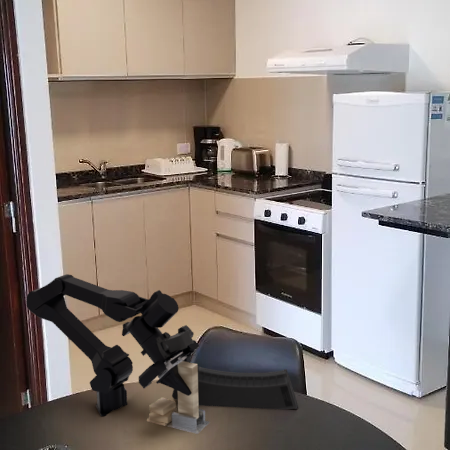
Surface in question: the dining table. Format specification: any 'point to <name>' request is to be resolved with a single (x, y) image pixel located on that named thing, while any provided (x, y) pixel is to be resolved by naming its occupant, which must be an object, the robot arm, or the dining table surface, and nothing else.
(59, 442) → the dining table surface
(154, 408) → the offcut stack
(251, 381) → the black curved panel
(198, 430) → the rack
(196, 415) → the beige rectangular block
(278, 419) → the dining table surface
